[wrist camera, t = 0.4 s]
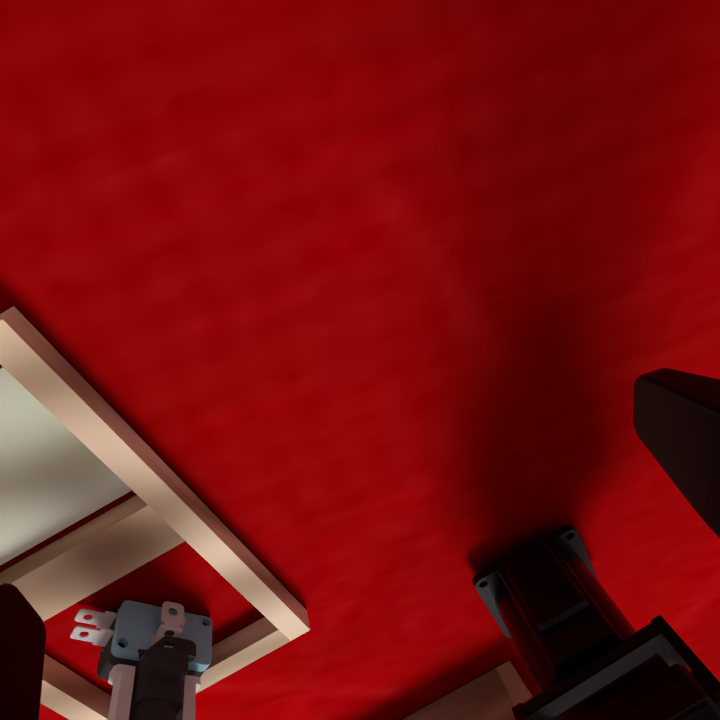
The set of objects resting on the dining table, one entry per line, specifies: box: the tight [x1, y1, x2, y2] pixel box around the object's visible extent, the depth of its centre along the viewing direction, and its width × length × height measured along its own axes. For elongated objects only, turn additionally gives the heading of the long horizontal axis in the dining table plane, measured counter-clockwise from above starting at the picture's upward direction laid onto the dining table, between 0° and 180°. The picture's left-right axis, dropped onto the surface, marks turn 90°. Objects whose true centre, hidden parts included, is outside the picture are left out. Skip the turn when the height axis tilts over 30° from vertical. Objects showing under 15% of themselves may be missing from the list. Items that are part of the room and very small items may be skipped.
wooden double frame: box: [0, 306, 310, 720], centre depth 24 cm, size 21×12×1 cm, turn 27°
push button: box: [70, 600, 212, 720], centre depth 23 cm, size 7×5×10 cm
